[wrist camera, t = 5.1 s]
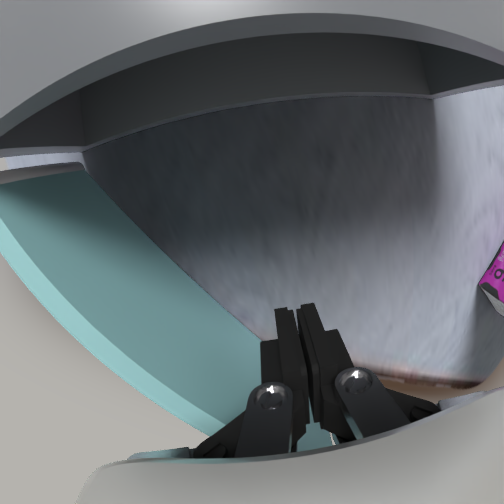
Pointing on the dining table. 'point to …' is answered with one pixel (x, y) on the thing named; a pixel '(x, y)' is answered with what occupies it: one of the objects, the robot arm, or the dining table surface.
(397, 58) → the case
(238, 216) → the dining table surface
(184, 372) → the side door
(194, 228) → the dining table surface
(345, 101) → the dining table surface
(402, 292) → the dining table surface
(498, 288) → the candy bar box
